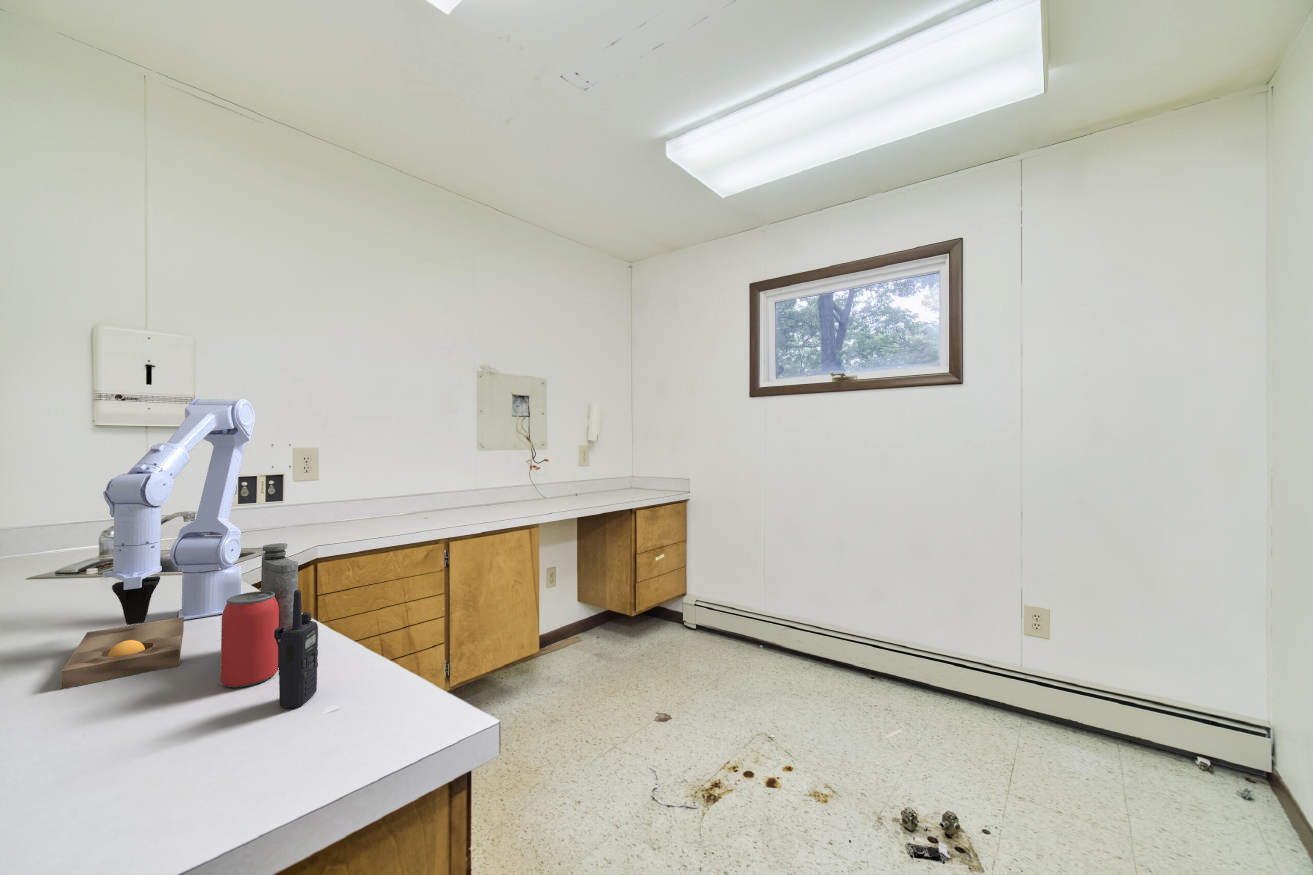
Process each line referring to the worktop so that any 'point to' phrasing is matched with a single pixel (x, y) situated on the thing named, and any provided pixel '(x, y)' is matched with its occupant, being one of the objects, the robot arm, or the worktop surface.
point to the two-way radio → (297, 657)
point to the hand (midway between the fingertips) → (136, 622)
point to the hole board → (97, 666)
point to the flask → (280, 580)
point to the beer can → (249, 639)
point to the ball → (126, 648)
